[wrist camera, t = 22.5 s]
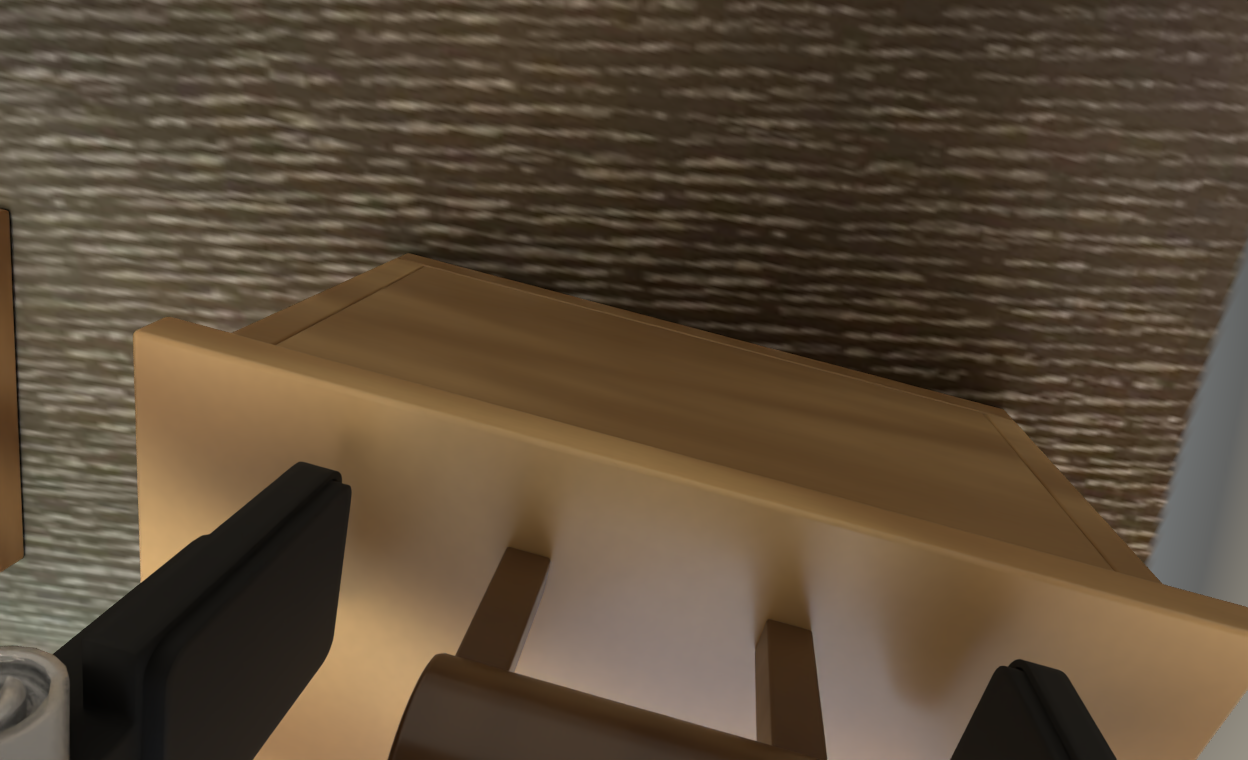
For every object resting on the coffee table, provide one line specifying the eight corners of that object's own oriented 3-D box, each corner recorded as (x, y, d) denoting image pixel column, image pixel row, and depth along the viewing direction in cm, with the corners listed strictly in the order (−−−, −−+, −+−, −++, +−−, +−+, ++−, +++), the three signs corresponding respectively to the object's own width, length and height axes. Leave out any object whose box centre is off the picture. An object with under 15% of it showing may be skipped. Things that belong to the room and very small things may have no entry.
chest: (407, 252, 22) (208, 342, 13) (1004, 409, 21) (1184, 606, 13) (343, 714, 27) (176, 977, 19) (810, 849, 27) (847, 1182, 18)
